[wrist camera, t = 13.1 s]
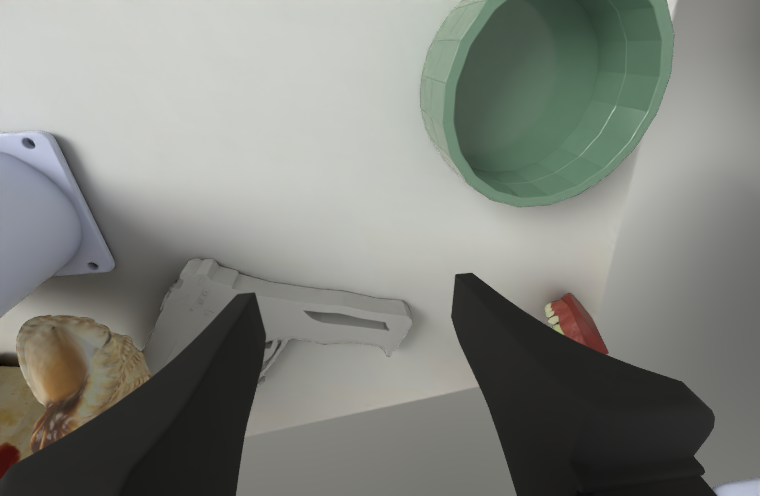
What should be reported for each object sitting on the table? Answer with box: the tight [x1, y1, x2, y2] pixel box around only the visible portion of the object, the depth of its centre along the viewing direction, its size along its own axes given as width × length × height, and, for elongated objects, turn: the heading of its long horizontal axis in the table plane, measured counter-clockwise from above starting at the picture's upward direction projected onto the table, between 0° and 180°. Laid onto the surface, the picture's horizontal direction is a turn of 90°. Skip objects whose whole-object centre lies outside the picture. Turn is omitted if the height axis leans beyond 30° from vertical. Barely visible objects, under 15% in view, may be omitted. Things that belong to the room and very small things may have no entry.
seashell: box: [16, 315, 152, 453], centre depth 19 cm, size 8×6×10 cm
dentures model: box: [544, 293, 608, 355], centre depth 26 cm, size 6×4×8 cm
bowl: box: [420, 0, 674, 207], centre depth 17 cm, size 10×10×4 cm
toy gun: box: [143, 259, 413, 387], centre depth 27 cm, size 2×28×15 cm
